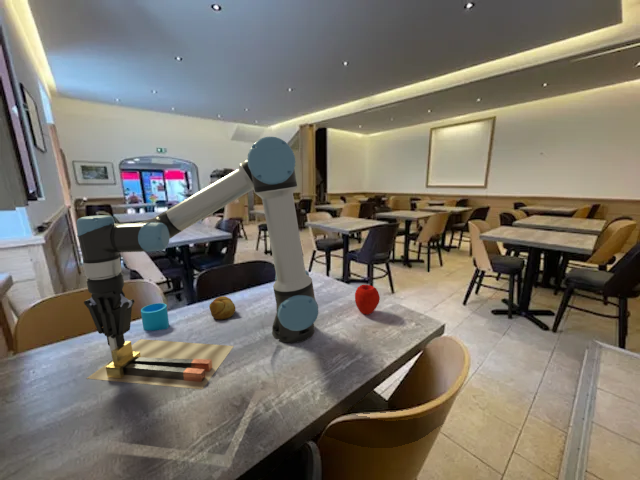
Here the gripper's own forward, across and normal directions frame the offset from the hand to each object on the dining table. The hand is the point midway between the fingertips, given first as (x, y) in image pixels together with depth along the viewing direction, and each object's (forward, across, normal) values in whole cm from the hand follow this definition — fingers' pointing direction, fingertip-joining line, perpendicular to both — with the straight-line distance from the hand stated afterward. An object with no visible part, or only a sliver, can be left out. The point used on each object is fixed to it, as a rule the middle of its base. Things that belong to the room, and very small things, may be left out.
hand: (118, 355), depth 76 cm
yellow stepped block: (+4, -1, 0) cm, 4 cm away
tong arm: (+4, -14, -2) cm, 15 cm away
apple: (+6, -70, -46) cm, 84 cm away
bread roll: (+6, -12, -38) cm, 40 cm away
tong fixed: (+4, -11, 0) cm, 12 cm away
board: (+6, -10, -5) cm, 13 cm away
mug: (+6, +9, -26) cm, 28 cm away
